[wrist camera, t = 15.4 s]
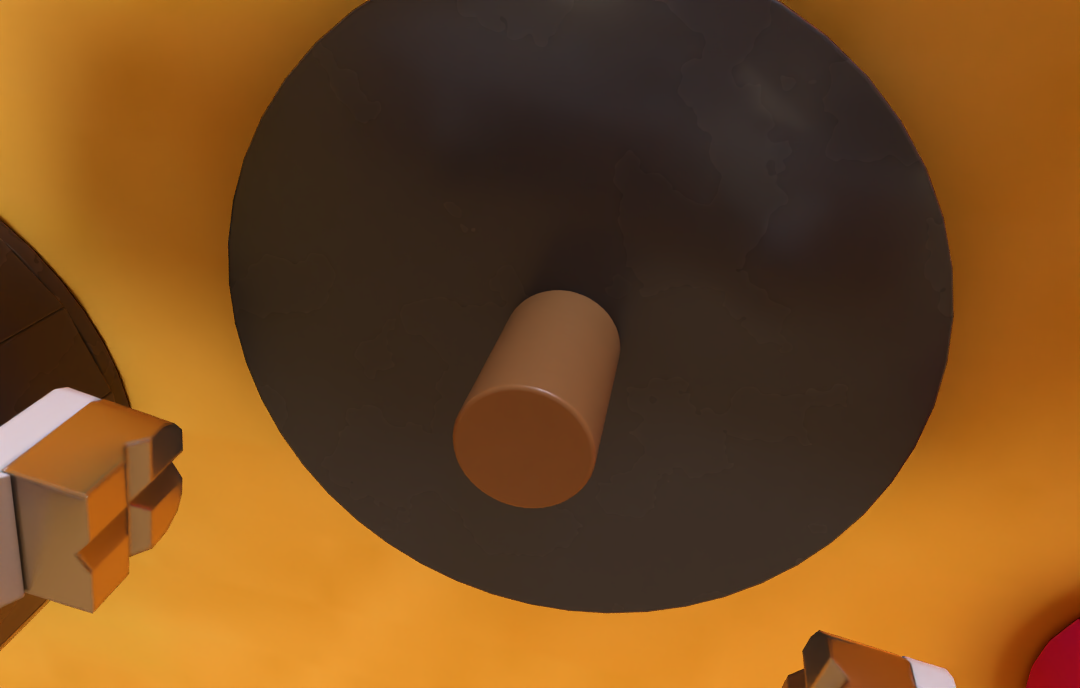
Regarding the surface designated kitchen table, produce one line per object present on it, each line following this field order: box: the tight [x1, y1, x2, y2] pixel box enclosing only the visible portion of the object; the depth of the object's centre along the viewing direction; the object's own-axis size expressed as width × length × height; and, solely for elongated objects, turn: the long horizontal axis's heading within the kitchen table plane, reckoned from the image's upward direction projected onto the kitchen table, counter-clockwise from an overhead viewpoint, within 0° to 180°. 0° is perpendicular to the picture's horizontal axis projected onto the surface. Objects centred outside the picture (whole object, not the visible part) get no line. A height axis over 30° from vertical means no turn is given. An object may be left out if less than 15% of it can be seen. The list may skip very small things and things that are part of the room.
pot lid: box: [228, 0, 954, 613], centre depth 16 cm, size 15×15×5 cm
